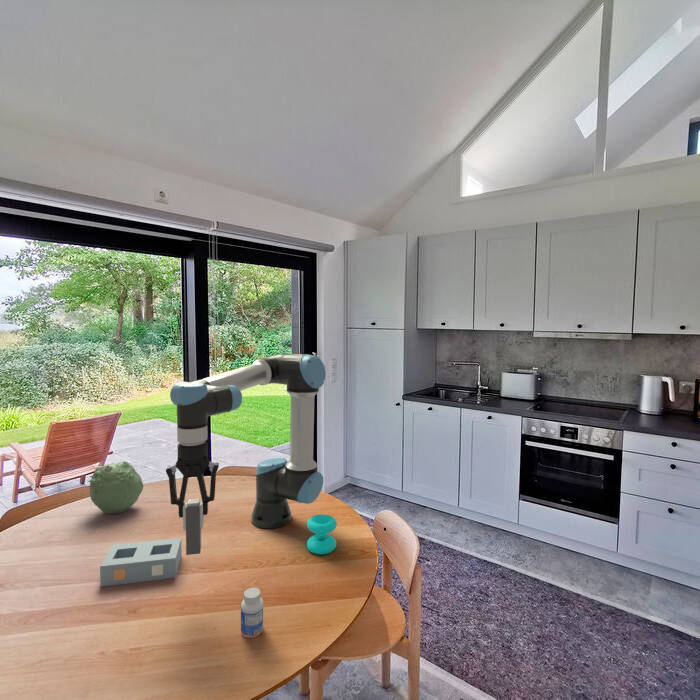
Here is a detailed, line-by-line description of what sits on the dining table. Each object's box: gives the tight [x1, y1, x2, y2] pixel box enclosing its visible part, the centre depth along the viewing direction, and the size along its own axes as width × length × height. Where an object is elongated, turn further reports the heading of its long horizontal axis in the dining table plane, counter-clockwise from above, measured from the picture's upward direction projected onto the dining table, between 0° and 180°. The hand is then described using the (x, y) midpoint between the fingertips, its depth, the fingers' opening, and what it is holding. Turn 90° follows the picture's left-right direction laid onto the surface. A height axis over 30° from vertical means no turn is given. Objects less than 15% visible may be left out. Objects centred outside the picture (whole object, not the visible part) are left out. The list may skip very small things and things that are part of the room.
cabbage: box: [87, 461, 144, 515], centre depth 166 cm, size 16×19×20 cm
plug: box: [185, 498, 202, 556], centre depth 113 cm, size 4×4×14 cm
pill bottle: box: [240, 587, 264, 639], centre depth 103 cm, size 6×5×10 cm
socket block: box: [99, 537, 183, 588], centre depth 127 cm, size 20×12×6 cm, turn 104°
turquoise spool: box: [306, 513, 338, 555], centre depth 142 cm, size 10×10×10 cm
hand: (193, 526), depth 113 cm, fingers closed on plug, 3 cm apart
